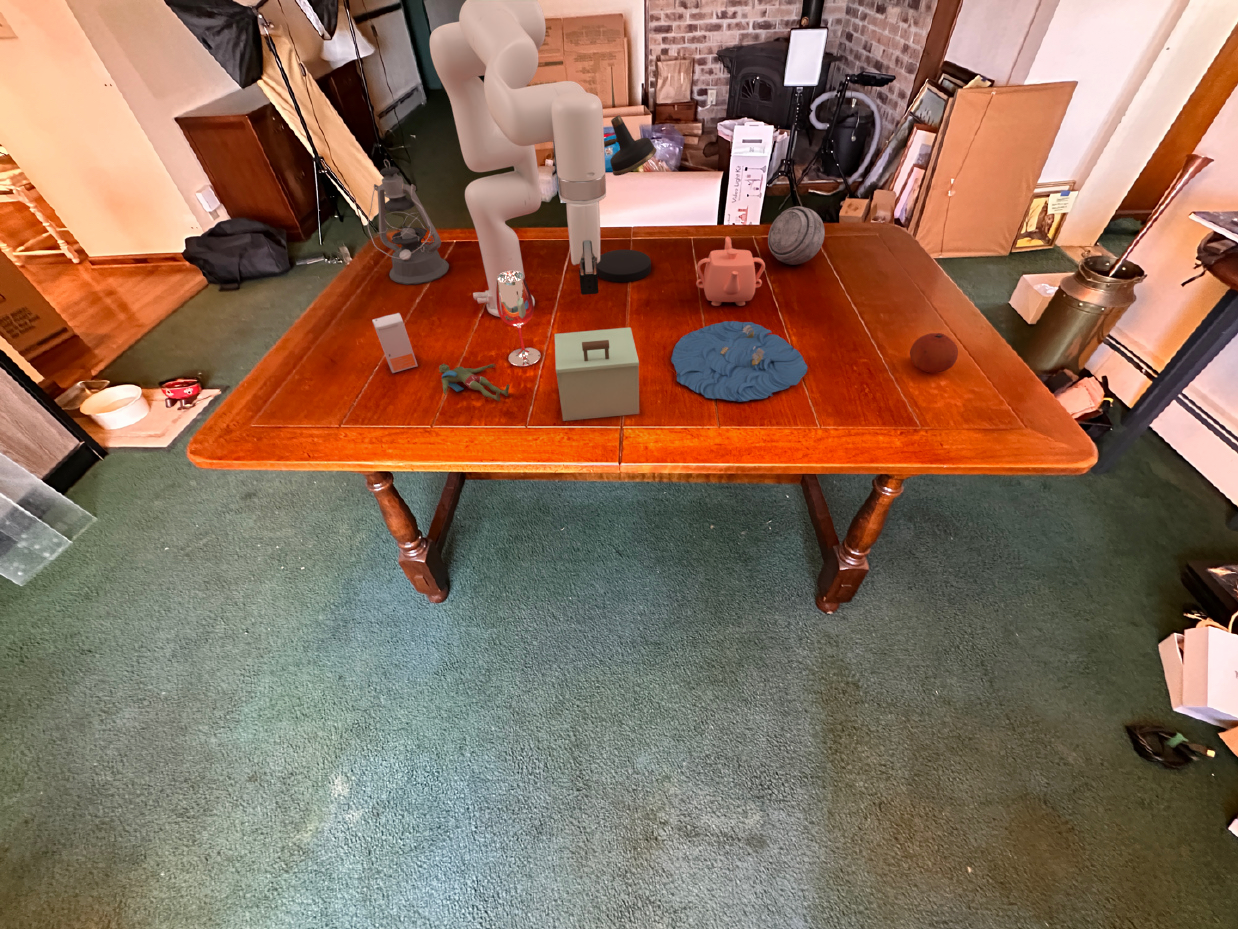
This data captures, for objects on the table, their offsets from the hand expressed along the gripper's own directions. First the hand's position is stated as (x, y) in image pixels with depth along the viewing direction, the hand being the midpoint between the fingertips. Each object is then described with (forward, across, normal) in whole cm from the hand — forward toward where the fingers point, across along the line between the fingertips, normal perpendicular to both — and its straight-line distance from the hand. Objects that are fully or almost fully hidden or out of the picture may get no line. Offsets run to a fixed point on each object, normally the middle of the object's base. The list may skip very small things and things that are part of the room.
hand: (589, 291), depth 102 cm
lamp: (+25, -58, +10) cm, 64 cm away
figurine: (+24, -7, -27) cm, 37 cm away
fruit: (+24, +1, +72) cm, 76 cm away
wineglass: (+24, -17, -16) cm, 34 cm away
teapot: (+24, -37, +37) cm, 58 cm away
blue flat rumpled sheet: (+24, -7, +32) cm, 41 cm away
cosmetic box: (+25, -18, -44) cm, 53 cm away
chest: (+24, +1, 0) cm, 24 cm away
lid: (+12, +2, 0) cm, 12 cm away
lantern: (+26, -66, -48) cm, 85 cm away
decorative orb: (+24, -54, +60) cm, 84 cm away
